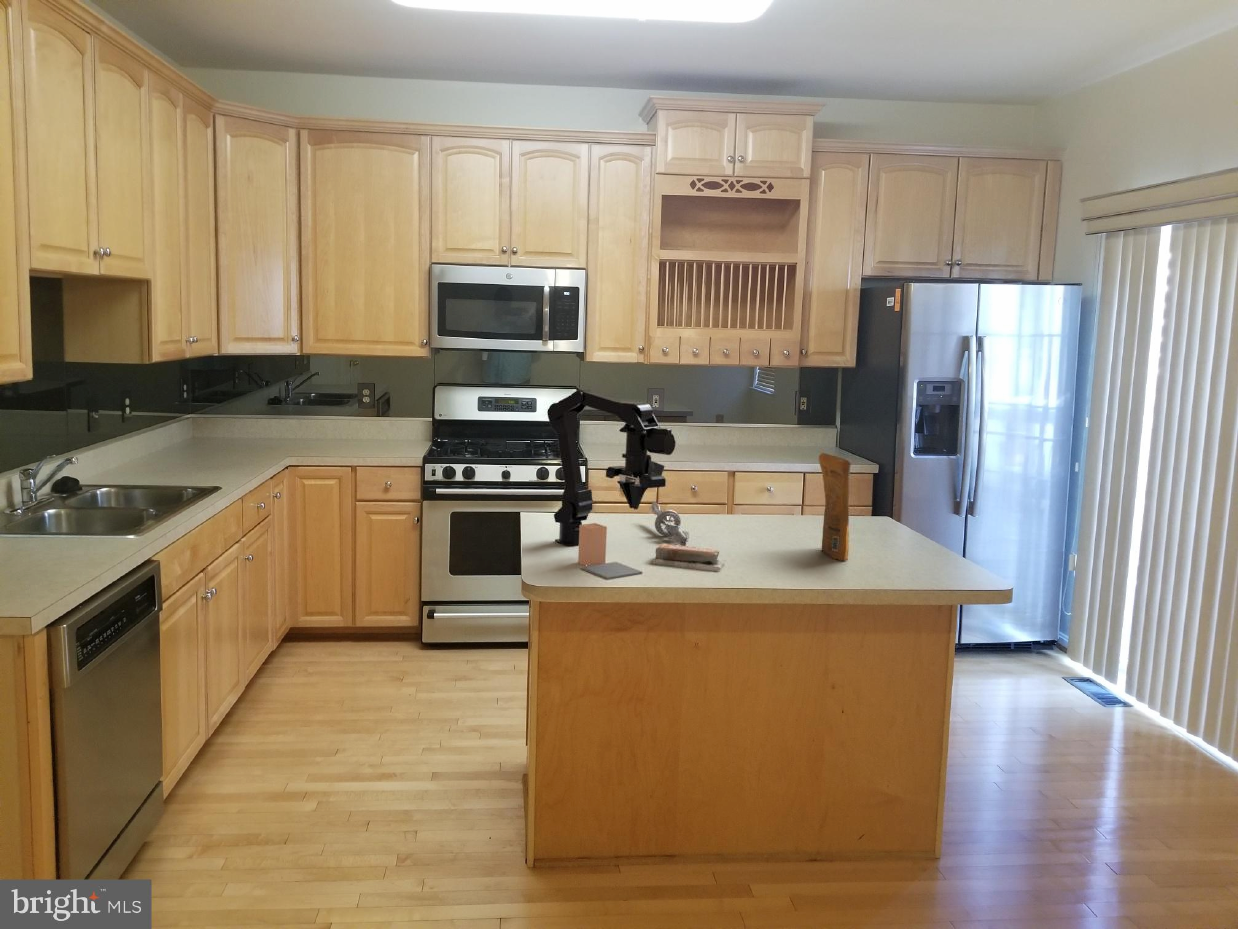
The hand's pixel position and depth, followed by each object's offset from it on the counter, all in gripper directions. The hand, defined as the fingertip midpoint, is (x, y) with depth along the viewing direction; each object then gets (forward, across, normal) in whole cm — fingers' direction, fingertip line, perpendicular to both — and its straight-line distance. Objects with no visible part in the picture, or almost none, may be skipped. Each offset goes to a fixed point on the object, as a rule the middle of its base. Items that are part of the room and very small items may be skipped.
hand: (633, 508), depth 264 cm
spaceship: (+13, +14, -24) cm, 31 cm away
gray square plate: (+13, -10, +14) cm, 21 cm away
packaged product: (+14, -13, -9) cm, 21 cm away
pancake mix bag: (+13, -25, -52) cm, 59 cm away
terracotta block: (+13, -1, +14) cm, 19 cm away
